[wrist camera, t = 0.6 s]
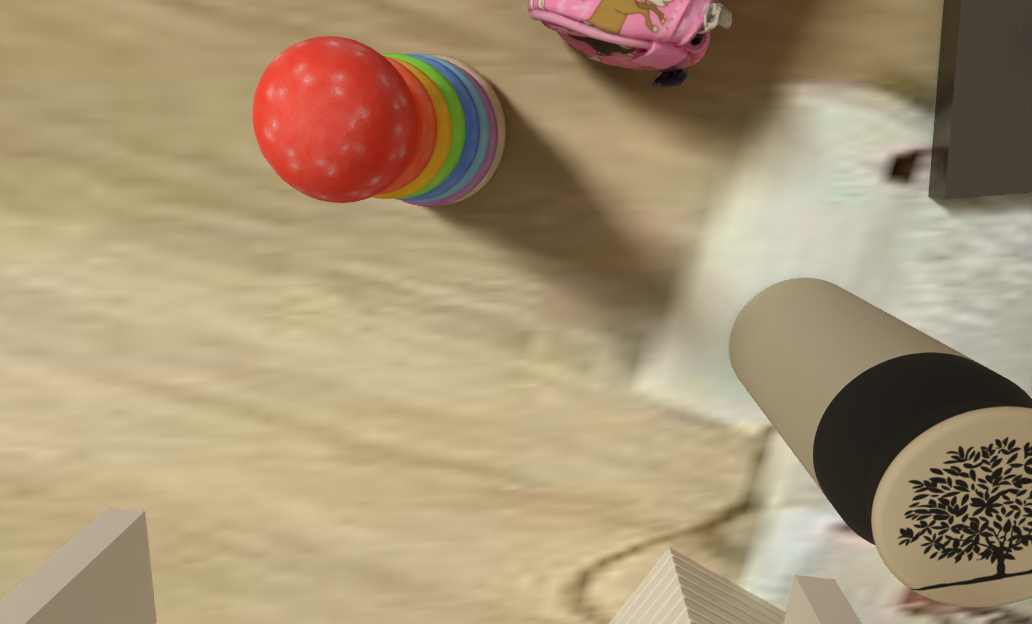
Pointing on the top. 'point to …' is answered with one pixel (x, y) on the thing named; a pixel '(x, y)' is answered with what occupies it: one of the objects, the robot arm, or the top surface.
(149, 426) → the top surface
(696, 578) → the stack of papers
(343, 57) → the stacking toy
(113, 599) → the robot arm
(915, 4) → the top surface
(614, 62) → the pencil case
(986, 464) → the travel mug
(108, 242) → the top surface
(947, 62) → the post plate
